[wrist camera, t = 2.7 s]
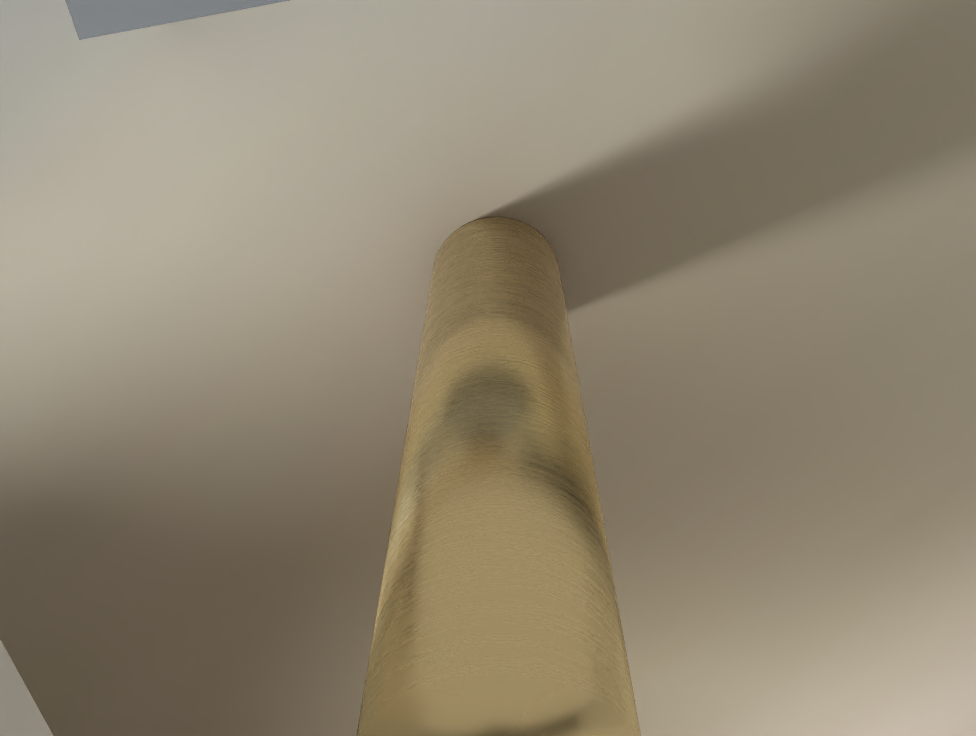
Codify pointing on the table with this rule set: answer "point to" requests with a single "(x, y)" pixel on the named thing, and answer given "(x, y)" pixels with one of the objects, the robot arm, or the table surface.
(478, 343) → the brass peg
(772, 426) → the table surface
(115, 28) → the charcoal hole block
